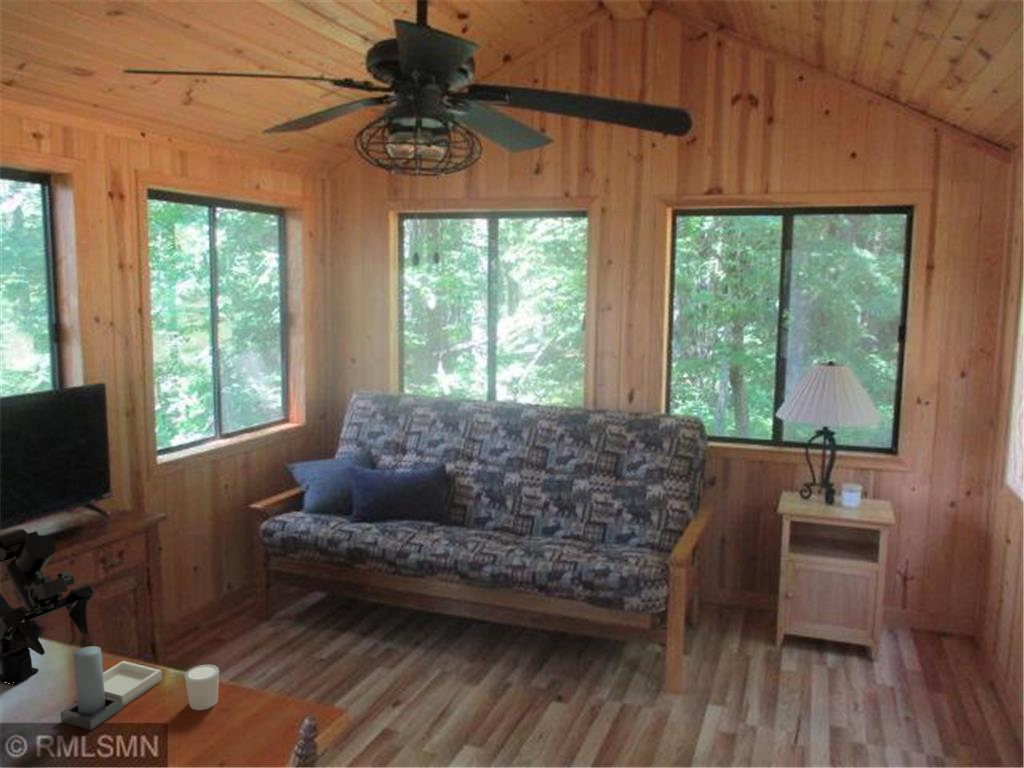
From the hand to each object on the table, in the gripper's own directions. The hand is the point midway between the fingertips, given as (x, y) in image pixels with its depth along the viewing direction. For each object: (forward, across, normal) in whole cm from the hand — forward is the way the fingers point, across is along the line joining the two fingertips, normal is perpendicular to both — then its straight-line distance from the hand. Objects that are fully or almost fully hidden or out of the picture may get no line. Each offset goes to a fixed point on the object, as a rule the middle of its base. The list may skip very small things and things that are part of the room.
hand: (65, 644), depth 166 cm
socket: (+15, 0, +4) cm, 16 cm away
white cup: (+26, +15, -7) cm, 31 cm away
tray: (+12, +10, +7) cm, 17 cm away
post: (+15, 0, +4) cm, 16 cm away
